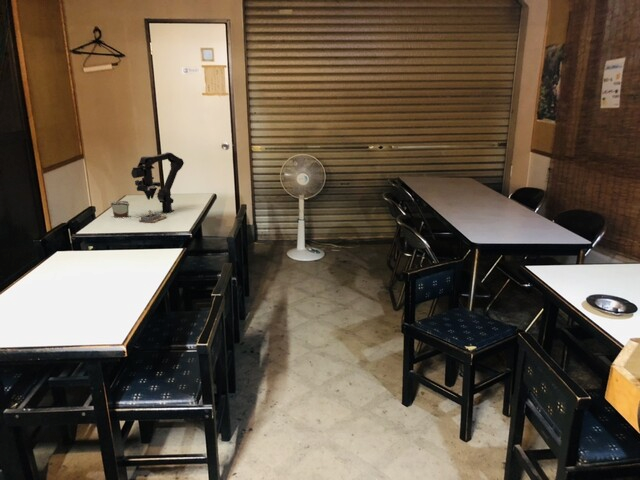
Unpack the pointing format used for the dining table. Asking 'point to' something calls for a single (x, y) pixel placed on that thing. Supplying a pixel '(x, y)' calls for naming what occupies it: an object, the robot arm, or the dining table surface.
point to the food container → (120, 209)
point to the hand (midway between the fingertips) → (150, 199)
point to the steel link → (154, 217)
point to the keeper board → (153, 220)
